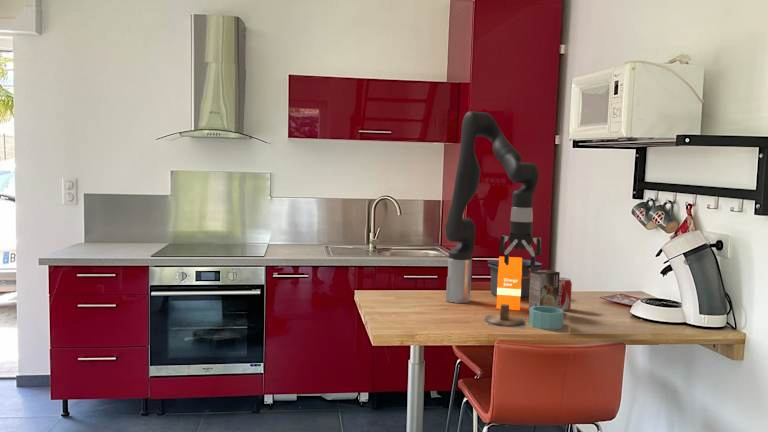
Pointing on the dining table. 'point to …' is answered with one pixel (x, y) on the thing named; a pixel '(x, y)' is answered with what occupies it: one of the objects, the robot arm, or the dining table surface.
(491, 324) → the mat
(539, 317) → the bowl
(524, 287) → the storage bin
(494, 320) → the lid
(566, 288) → the beverage can
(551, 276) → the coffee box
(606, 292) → the dining table surface
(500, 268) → the orange juice
